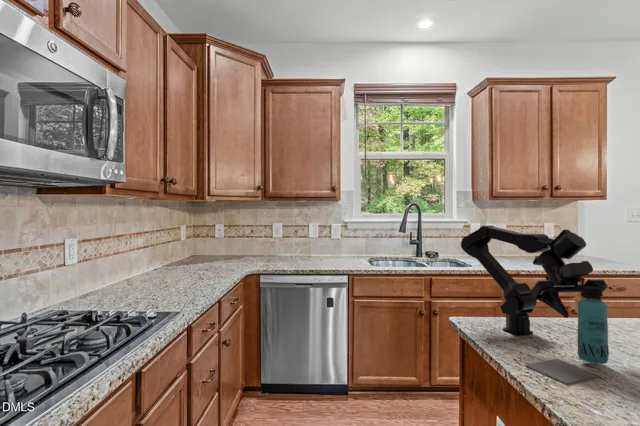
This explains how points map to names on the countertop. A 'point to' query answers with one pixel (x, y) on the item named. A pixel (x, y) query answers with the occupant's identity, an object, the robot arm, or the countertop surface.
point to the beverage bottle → (593, 327)
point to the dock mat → (563, 371)
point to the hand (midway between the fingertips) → (584, 316)
